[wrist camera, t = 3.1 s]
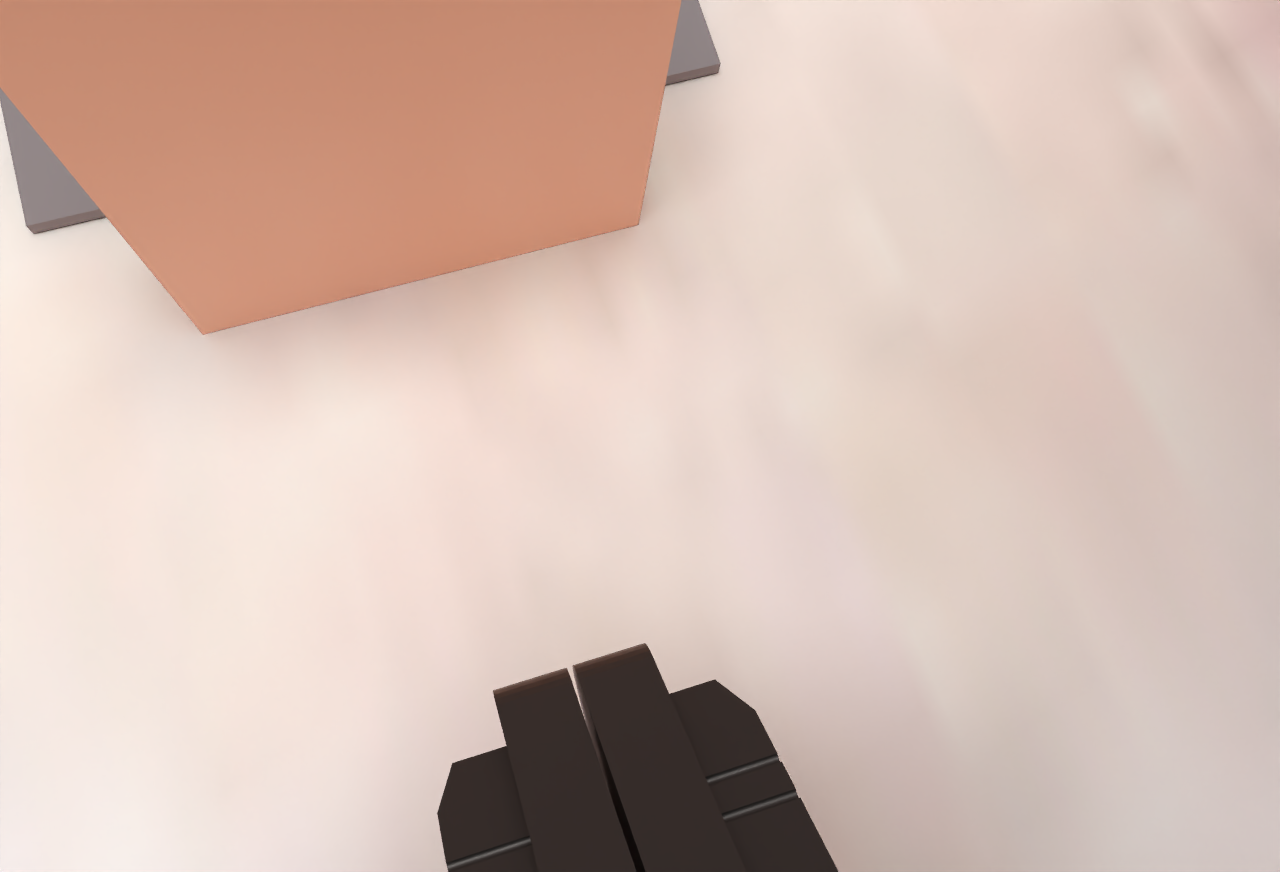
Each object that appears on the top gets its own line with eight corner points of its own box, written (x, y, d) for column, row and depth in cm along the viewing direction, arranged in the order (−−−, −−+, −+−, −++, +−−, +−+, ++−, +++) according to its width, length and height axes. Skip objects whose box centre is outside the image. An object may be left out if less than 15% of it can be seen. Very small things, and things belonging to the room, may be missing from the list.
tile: (606, 129, 29) (661, -350, 16) (638, 224, 28) (719, -194, 16) (178, 232, 27) (-130, -207, 15) (203, 334, 27) (-96, -30, 14)
